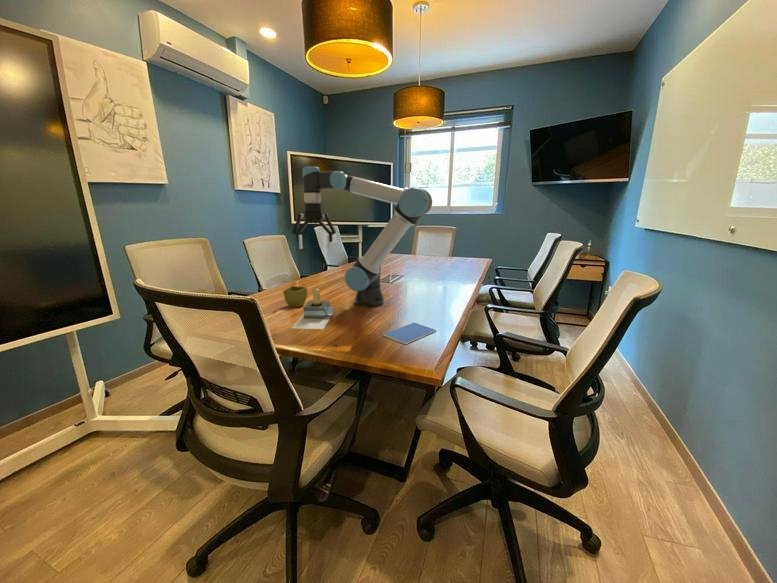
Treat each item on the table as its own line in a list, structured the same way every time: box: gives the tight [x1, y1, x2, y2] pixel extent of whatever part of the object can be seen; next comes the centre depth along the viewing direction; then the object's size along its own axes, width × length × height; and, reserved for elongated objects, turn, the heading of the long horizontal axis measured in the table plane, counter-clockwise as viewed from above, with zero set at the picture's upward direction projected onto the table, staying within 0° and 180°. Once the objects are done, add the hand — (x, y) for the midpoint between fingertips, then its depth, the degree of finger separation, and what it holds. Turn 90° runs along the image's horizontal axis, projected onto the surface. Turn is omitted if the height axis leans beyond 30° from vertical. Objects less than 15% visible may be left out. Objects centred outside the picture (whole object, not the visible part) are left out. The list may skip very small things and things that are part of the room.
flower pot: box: [282, 285, 308, 308], centre depth 160 cm, size 9×9×9 cm
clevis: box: [303, 300, 336, 319], centre depth 143 cm, size 12×10×5 cm
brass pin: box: [312, 287, 321, 306], centre depth 142 cm, size 3×3×12 cm
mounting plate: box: [291, 313, 333, 330], centre depth 139 cm, size 13×22×2 cm, turn 178°
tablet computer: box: [382, 322, 437, 345], centre depth 128 cm, size 19×13×1 cm, turn 135°
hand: (315, 248), depth 154 cm, fingers open, 13 cm apart
